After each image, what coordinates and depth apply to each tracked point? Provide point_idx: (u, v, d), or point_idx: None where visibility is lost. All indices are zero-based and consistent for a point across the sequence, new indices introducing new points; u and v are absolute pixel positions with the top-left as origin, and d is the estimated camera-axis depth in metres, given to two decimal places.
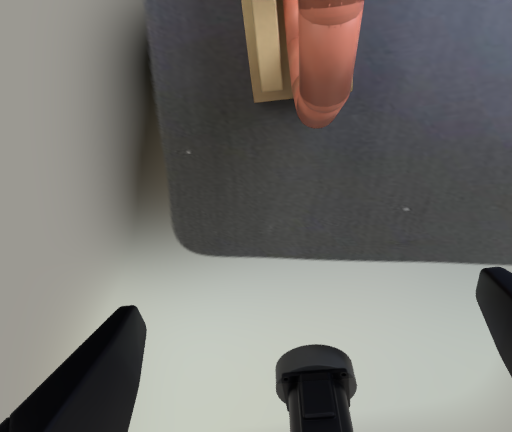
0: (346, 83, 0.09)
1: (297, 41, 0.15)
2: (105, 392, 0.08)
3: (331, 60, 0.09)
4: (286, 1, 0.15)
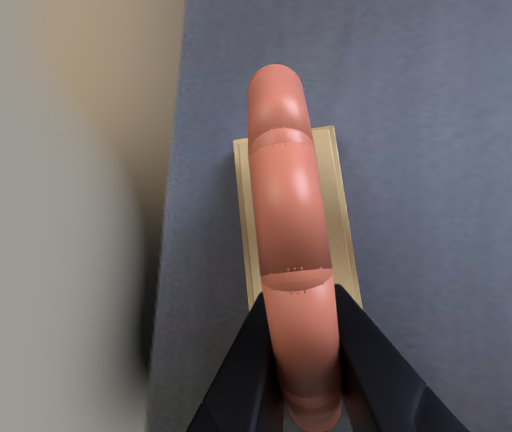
0: (331, 366, 0.07)
1: None
2: (274, 379, 0.08)
3: (303, 334, 0.07)
4: None
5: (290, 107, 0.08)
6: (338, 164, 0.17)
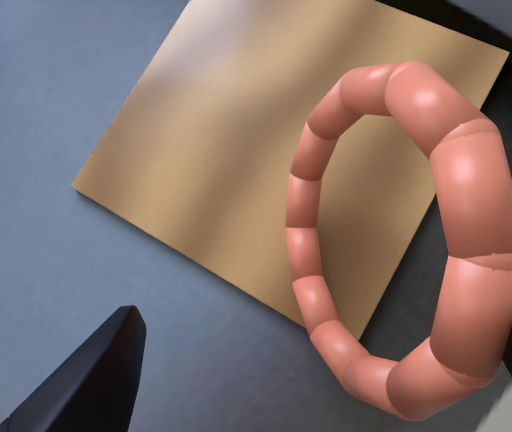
0: (505, 345, 0.08)
1: (327, 326, 0.14)
2: (105, 392, 0.08)
3: (505, 313, 0.07)
4: (303, 290, 0.15)
5: None
6: None
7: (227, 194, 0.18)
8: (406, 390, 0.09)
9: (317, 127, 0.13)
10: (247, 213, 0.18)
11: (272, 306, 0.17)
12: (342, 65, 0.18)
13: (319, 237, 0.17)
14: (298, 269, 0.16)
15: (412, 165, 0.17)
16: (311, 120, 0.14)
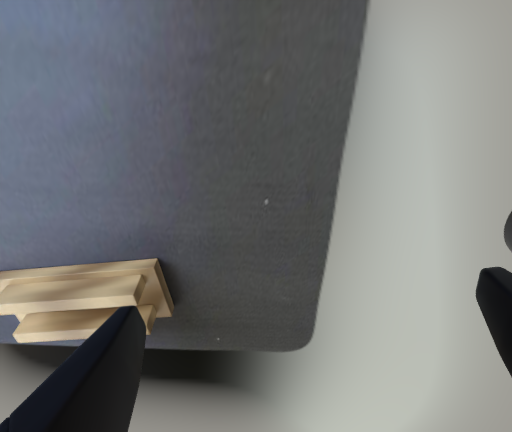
0: None
1: None
2: (105, 392, 0.08)
3: None
4: None
5: None
6: (17, 279, 0.26)
7: None
8: None
9: None
10: None
11: None
12: None
13: None
14: None
15: None
16: None
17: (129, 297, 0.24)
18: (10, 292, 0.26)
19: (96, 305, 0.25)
